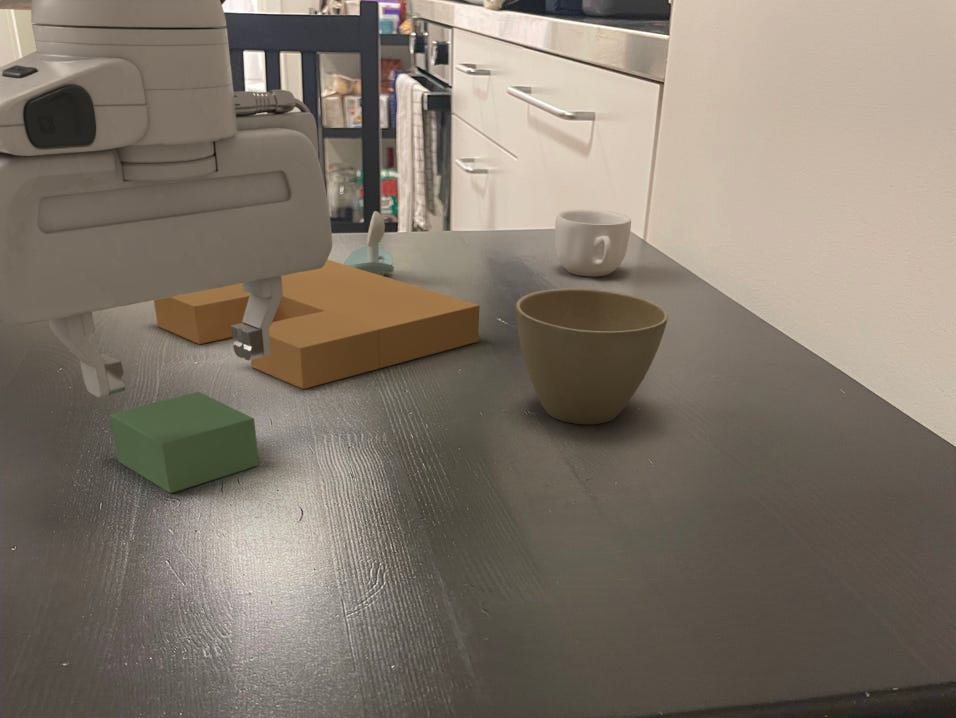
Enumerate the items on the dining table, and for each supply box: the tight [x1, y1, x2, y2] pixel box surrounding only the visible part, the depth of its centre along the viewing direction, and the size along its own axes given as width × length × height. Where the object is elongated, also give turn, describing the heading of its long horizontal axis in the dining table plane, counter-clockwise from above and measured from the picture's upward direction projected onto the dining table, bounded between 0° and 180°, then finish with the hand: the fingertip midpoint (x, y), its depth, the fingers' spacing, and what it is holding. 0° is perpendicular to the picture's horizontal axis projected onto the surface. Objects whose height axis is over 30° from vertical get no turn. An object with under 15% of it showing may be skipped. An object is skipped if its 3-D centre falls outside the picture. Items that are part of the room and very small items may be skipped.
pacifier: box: [344, 210, 395, 276], centre depth 95 cm, size 7×6×6 cm
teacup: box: [554, 209, 632, 277], centre depth 100 cm, size 10×8×5 cm
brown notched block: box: [153, 259, 481, 390], centre depth 80 cm, size 20×18×3 cm
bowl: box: [515, 287, 669, 425], centre depth 65 cm, size 10×10×7 cm
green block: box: [108, 391, 260, 494], centre depth 57 cm, size 6×6×3 cm
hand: (183, 373), depth 55 cm, fingers open, 8 cm apart
